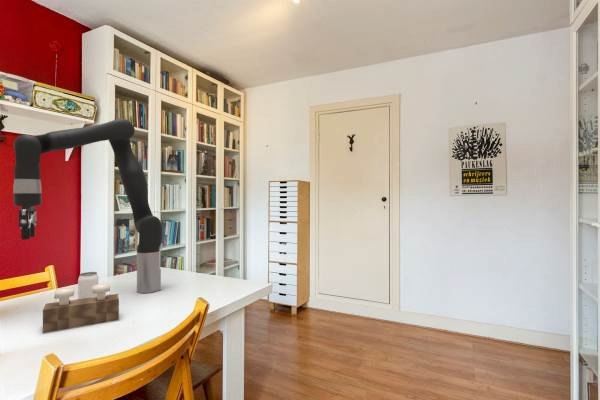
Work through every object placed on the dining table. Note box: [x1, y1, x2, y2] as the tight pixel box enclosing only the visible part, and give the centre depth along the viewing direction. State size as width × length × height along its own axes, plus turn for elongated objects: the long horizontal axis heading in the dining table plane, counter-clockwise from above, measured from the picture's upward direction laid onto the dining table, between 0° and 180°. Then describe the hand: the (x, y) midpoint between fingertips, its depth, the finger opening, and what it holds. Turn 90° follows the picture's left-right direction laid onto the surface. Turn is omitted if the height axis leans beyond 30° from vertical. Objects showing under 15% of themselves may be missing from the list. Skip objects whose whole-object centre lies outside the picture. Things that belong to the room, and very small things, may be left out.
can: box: [77, 271, 99, 299], centre depth 122 cm, size 6×6×12 cm
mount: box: [42, 293, 120, 334], centre depth 104 cm, size 20×7×7 cm, turn 122°
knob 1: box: [54, 287, 75, 306], centre depth 102 cm, size 5×5×8 cm
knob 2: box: [92, 282, 111, 300], centre depth 107 cm, size 5×5×8 cm
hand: (28, 238), depth 113 cm, fingers open, 8 cm apart
